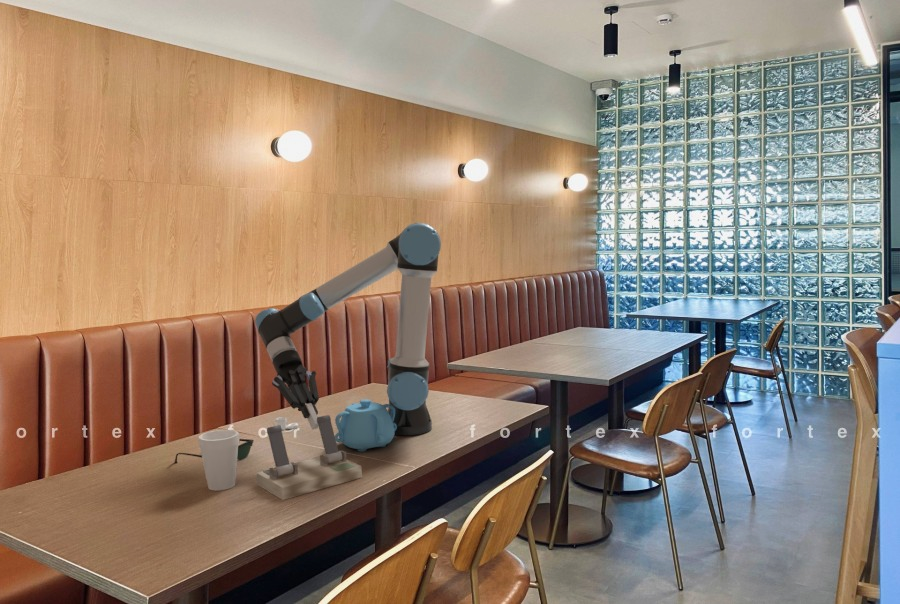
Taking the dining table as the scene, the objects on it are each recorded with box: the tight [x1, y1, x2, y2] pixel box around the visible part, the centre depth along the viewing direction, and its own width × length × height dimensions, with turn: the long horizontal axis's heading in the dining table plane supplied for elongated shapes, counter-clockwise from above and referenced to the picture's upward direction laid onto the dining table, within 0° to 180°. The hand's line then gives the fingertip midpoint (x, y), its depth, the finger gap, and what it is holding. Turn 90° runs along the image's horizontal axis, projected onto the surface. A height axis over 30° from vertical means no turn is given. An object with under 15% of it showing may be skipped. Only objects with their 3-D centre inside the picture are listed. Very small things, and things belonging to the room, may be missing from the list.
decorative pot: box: [334, 398, 397, 452], centre depth 204 cm, size 16×16×14 cm
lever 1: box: [266, 425, 293, 477], centre depth 172 cm, size 4×2×12 cm, turn 130°
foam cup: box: [198, 429, 240, 492], centre depth 173 cm, size 10×9×13 cm
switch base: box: [255, 449, 363, 501], centre depth 176 cm, size 22×14×5 cm, turn 130°
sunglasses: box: [174, 438, 254, 464], centre depth 193 cm, size 16×17×5 cm
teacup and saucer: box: [272, 416, 299, 434], centre depth 223 cm, size 9×8×4 cm
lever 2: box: [317, 414, 342, 463], centre depth 181 cm, size 4×2×12 cm, turn 130°
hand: (316, 426), depth 186 cm, fingers closed
